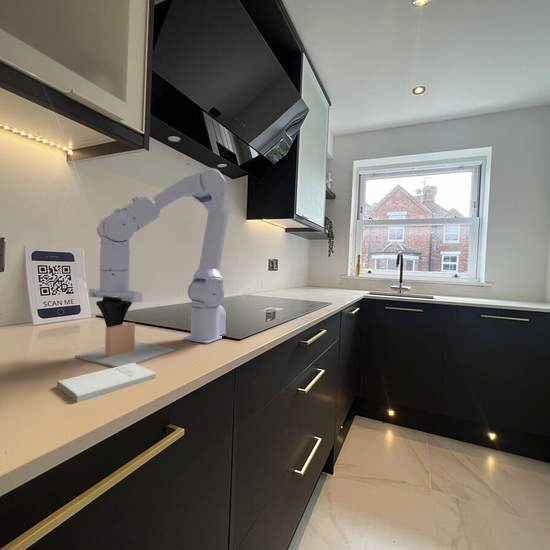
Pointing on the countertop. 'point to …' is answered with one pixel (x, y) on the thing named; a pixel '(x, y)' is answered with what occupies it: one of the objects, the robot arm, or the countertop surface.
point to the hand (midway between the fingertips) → (114, 332)
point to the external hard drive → (104, 381)
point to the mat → (126, 355)
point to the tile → (119, 339)
